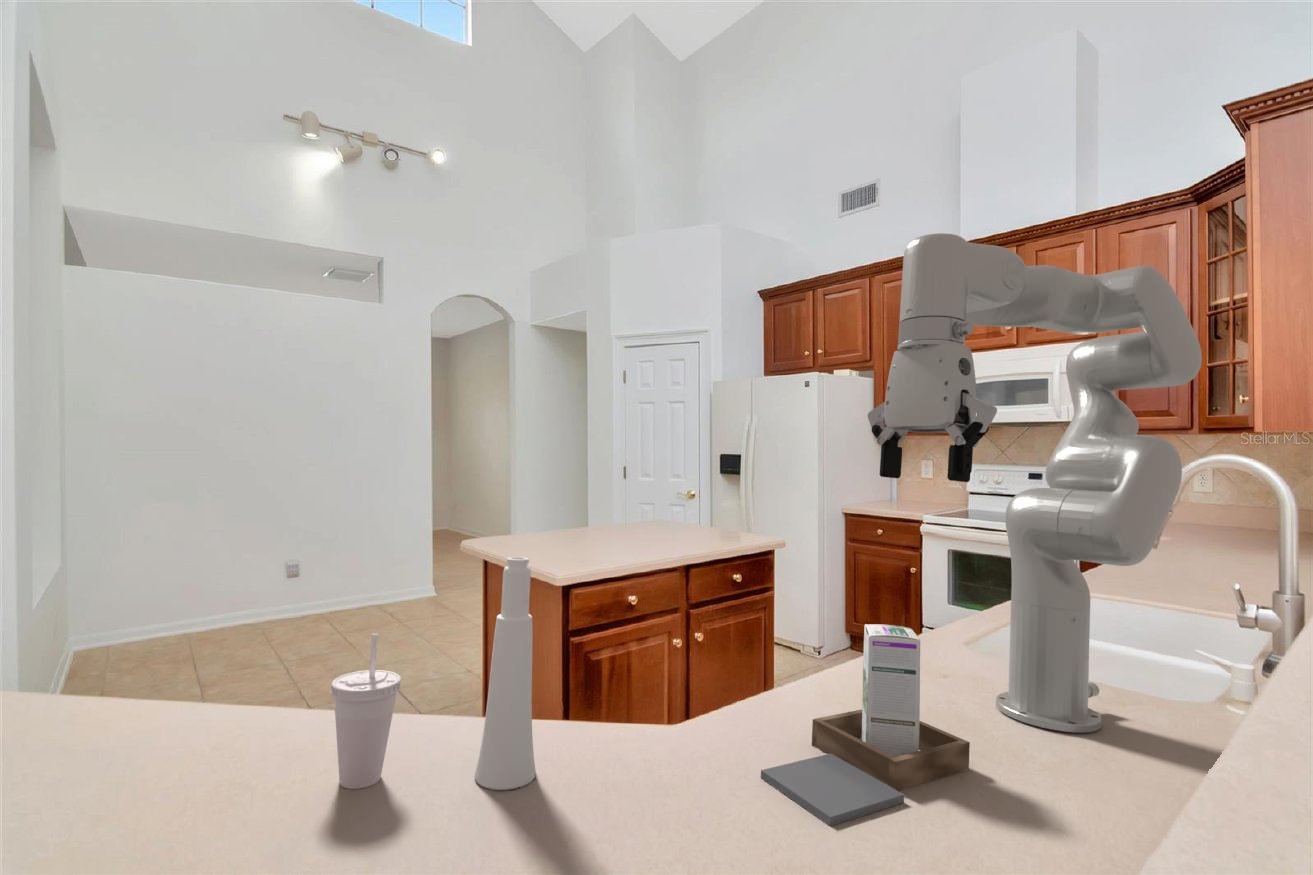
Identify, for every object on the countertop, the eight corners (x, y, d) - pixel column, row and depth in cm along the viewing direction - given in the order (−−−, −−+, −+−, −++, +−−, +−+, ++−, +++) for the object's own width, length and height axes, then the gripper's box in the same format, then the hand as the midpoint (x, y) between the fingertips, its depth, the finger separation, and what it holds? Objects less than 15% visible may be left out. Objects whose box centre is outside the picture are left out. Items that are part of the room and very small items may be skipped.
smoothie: (409, 776, 66) (418, 634, 66) (351, 803, 60) (361, 648, 61) (368, 758, 69) (377, 624, 69) (309, 782, 63) (319, 636, 64)
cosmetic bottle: (496, 758, 70) (508, 552, 71) (546, 769, 68) (558, 557, 69) (461, 783, 65) (475, 558, 66) (514, 796, 63) (528, 564, 64)
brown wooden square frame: (882, 728, 84) (883, 705, 84) (968, 769, 73) (969, 742, 73) (811, 744, 78) (812, 719, 78) (894, 791, 67) (895, 762, 67)
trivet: (830, 760, 74) (830, 753, 74) (903, 802, 65) (904, 794, 65) (760, 778, 69) (761, 770, 69) (829, 826, 60) (830, 817, 60)
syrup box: (919, 772, 72) (924, 638, 73) (863, 764, 73) (868, 633, 74) (910, 750, 78) (914, 626, 78) (858, 743, 79) (863, 621, 80)
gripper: (1018, 334, 74) (1010, 485, 73) (894, 352, 89) (886, 478, 88) (977, 321, 71) (968, 480, 70) (855, 343, 86) (846, 474, 85)
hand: (922, 479), depth 79 cm, fingers open, 9 cm apart
